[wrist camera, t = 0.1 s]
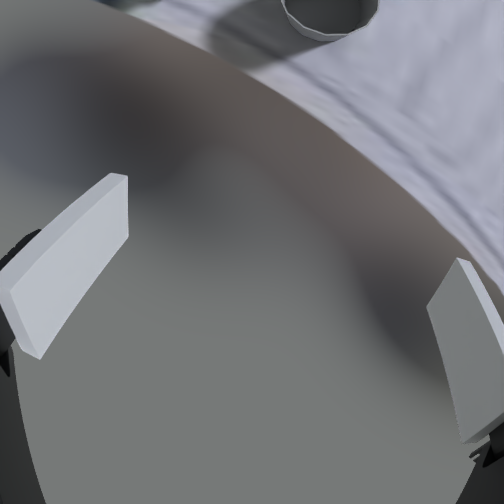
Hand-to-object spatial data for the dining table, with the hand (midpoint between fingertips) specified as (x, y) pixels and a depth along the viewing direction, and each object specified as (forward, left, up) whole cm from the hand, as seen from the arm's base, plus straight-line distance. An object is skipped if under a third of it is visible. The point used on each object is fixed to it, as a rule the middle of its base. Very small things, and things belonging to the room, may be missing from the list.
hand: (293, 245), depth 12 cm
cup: (-13, 0, -28) cm, 31 cm away
